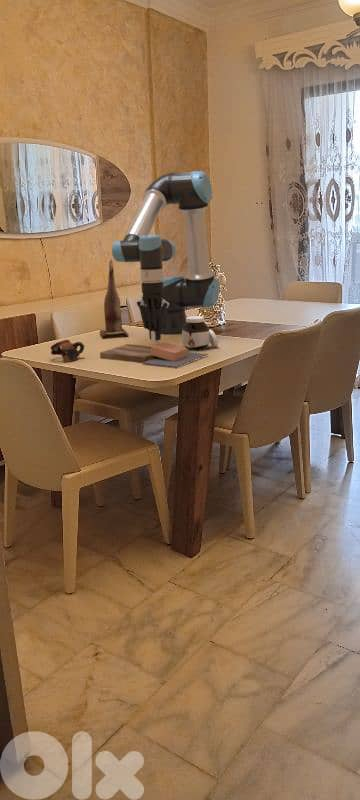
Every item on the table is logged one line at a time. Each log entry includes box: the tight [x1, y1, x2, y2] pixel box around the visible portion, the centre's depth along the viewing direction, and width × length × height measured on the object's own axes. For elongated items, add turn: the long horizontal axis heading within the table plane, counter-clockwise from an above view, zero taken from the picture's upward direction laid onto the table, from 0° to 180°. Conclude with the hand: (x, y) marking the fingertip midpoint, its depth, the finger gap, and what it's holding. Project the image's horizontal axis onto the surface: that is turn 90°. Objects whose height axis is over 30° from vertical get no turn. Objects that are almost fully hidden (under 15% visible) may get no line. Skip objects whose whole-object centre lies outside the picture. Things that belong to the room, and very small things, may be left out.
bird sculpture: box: [99, 259, 129, 339], centre depth 266 cm, size 11×12×32 cm
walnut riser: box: [99, 343, 157, 364], centre depth 230 cm, size 16×20×2 cm
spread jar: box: [181, 315, 219, 351], centre depth 238 cm, size 12×11×12 cm
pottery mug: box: [50, 339, 85, 364], centre depth 229 cm, size 12×10×8 cm
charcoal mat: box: [142, 351, 209, 368], centre depth 221 cm, size 20×14×1 cm
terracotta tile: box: [150, 341, 188, 361], centre depth 222 cm, size 8×10×3 cm
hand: (155, 348), depth 225 cm, fingers closed
